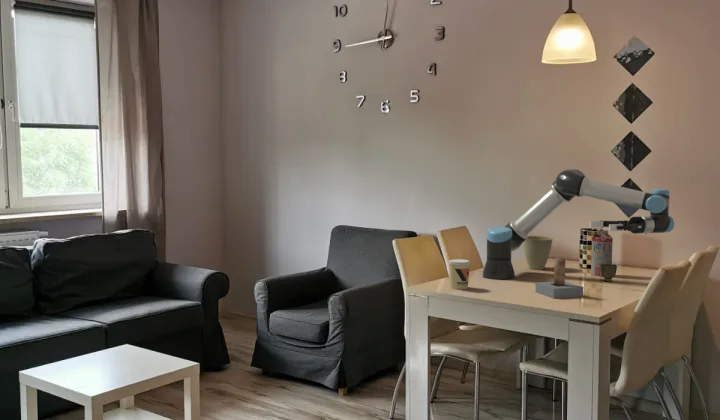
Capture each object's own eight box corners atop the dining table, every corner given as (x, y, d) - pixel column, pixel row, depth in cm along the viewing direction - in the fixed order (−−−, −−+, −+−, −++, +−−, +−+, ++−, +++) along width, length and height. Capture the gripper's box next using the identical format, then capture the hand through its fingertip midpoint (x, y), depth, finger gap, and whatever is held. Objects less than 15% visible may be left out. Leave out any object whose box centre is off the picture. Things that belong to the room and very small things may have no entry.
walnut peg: (551, 291, 296) (552, 258, 295) (560, 290, 297) (561, 258, 296) (557, 293, 292) (558, 259, 291) (566, 292, 293) (567, 259, 292)
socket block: (535, 291, 299) (535, 282, 299) (563, 290, 303) (564, 281, 303) (553, 298, 286) (553, 288, 286) (583, 296, 290) (583, 287, 290)
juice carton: (611, 275, 340) (612, 231, 338) (601, 276, 337) (602, 231, 335) (601, 273, 346) (602, 229, 344) (591, 274, 343) (592, 230, 341)
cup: (617, 283, 320) (618, 266, 320) (600, 282, 322) (601, 265, 321) (615, 280, 328) (615, 263, 327) (598, 279, 329) (599, 262, 329)
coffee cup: (456, 290, 301) (456, 263, 300) (444, 286, 309) (444, 260, 308) (473, 288, 305) (474, 261, 304) (461, 285, 314) (461, 258, 313)
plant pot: (517, 268, 358) (518, 238, 357) (528, 265, 371) (529, 235, 369) (545, 271, 350) (546, 240, 349) (555, 268, 362) (556, 237, 361)
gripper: (660, 236, 297) (617, 238, 291) (622, 230, 321) (582, 231, 315) (660, 219, 296) (618, 220, 290) (622, 214, 320) (582, 214, 314)
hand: (599, 226), depth 302 cm, fingers open, 13 cm apart
